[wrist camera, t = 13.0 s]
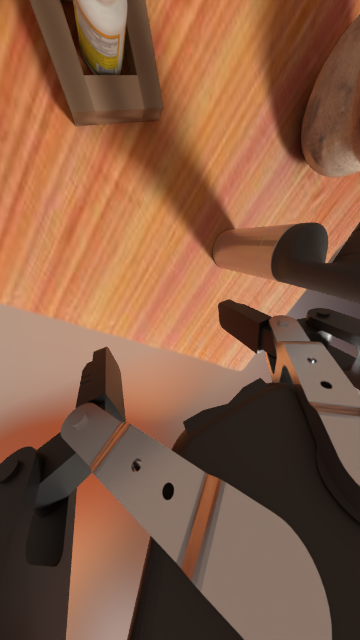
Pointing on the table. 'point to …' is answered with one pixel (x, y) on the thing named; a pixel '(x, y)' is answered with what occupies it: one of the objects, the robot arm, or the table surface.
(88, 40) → the supplement bottle
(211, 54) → the table surface
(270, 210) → the table surface
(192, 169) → the table surface
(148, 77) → the socket holder
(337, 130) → the ceramic bowl
